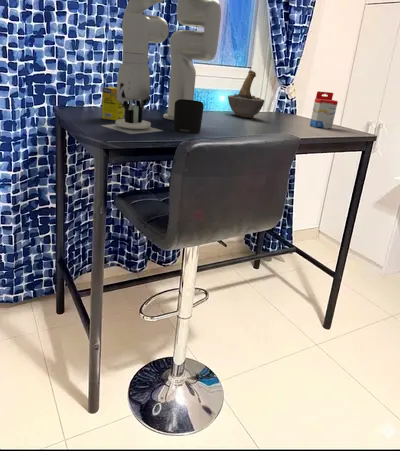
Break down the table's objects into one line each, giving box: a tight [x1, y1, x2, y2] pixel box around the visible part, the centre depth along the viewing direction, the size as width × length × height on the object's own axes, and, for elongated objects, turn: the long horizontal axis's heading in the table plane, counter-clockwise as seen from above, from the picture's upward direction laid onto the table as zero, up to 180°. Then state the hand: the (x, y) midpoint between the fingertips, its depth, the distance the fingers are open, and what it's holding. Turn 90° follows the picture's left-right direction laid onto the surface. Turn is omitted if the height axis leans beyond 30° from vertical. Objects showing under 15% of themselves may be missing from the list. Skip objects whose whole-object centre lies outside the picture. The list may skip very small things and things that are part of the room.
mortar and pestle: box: [227, 69, 265, 119], centre depth 184 cm, size 15×17×20 cm
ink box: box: [309, 91, 339, 129], centre depth 180 cm, size 8×5×15 cm, turn 105°
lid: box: [115, 104, 152, 129], centre depth 131 cm, size 11×11×6 cm
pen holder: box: [173, 99, 205, 134], centre depth 136 cm, size 9×9×10 cm
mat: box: [100, 123, 164, 135], centre depth 132 cm, size 14×14×1 cm
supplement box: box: [101, 86, 125, 122], centre depth 142 cm, size 6×6×11 cm
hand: (133, 121), depth 131 cm, fingers closed on lid, 3 cm apart
